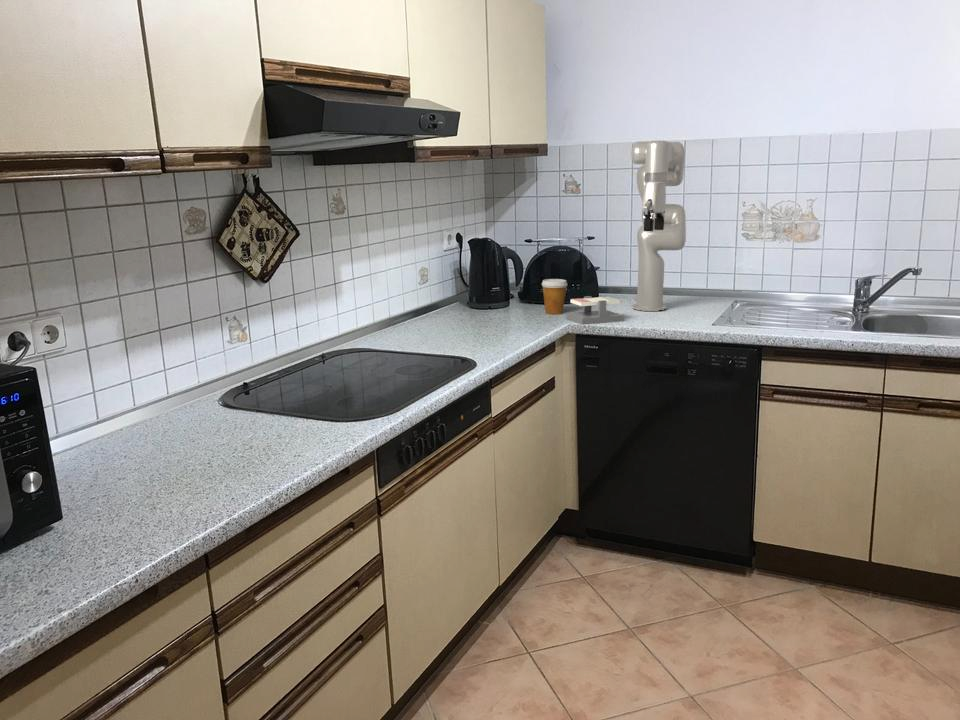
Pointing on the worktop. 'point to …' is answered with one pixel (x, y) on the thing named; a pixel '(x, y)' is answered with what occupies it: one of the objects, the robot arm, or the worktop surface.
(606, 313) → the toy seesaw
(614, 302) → the breaker rocker
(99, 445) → the worktop surface
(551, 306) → the disposable coffee cup
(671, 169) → the robot arm
